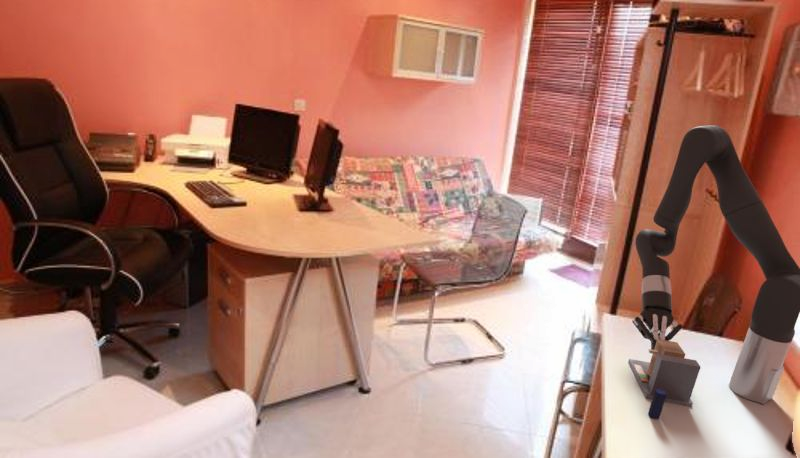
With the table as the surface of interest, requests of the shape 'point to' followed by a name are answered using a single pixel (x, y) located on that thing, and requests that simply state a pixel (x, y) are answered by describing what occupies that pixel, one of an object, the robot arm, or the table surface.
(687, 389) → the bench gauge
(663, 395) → the eraser
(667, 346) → the block
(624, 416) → the table surface
